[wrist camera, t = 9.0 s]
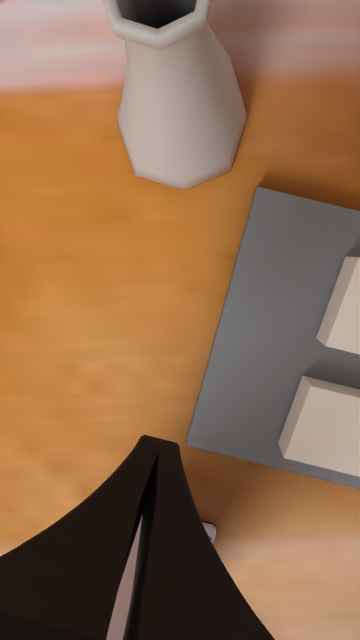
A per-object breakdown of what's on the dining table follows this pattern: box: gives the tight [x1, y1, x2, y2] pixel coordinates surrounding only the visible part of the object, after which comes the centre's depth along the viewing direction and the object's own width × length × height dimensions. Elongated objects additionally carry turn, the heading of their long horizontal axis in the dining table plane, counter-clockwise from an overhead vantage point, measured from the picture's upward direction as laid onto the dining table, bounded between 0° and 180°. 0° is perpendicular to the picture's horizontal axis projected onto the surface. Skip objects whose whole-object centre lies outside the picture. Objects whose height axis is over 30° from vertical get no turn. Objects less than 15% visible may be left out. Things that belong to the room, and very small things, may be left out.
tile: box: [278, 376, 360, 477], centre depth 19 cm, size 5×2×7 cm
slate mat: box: [186, 187, 360, 489], centre depth 19 cm, size 17×16×1 cm
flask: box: [103, 0, 247, 190], centre depth 12 cm, size 7×7×10 cm
